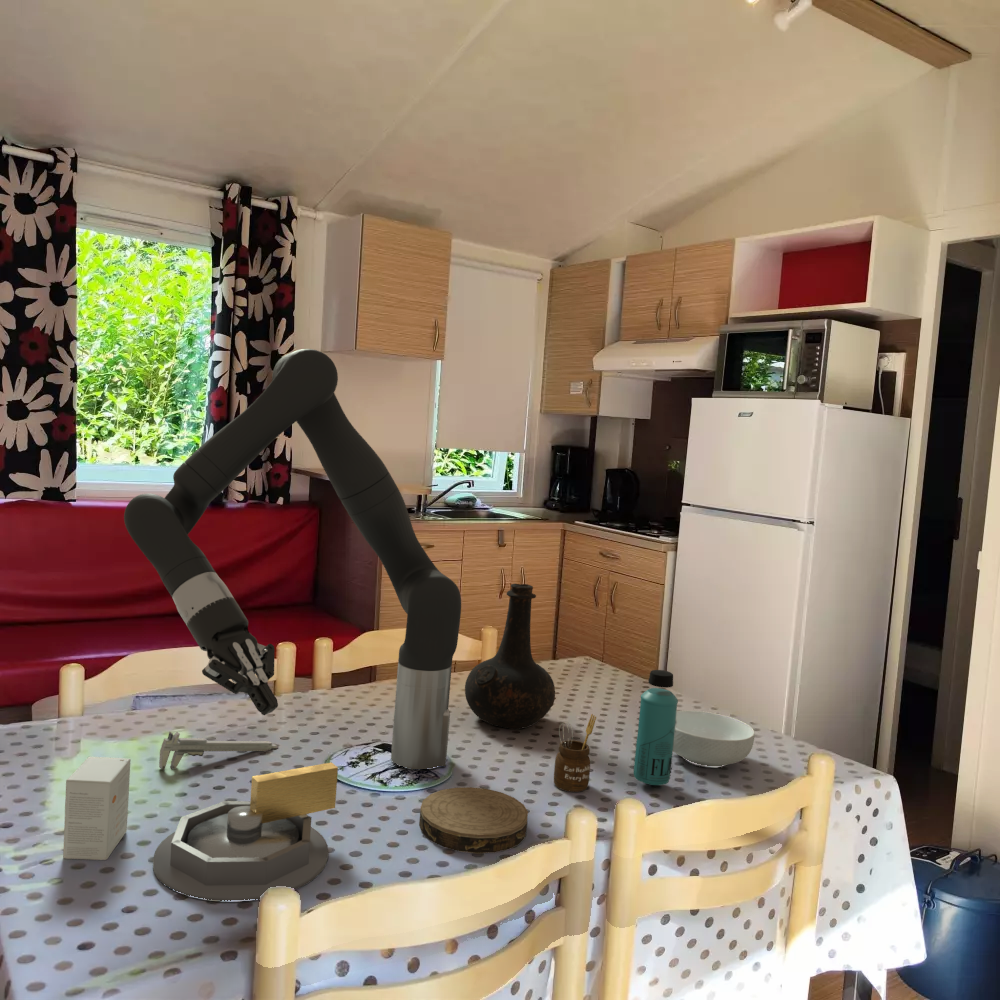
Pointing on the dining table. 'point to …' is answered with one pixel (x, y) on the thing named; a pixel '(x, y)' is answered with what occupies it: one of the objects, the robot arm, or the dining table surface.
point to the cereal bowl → (711, 738)
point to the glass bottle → (512, 673)
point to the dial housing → (237, 862)
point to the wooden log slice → (473, 820)
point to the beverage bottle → (656, 731)
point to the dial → (267, 813)
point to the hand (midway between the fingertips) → (271, 710)
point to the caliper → (203, 747)
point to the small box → (96, 808)
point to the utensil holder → (573, 762)
